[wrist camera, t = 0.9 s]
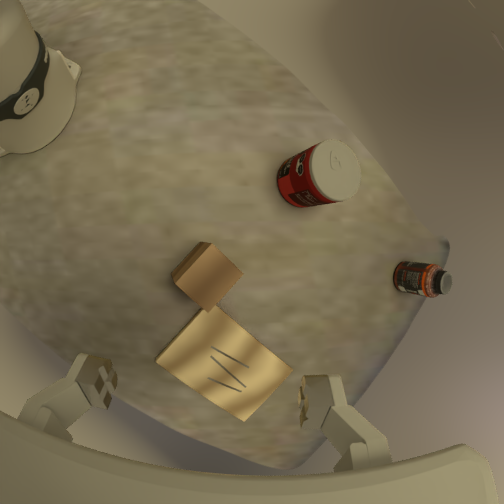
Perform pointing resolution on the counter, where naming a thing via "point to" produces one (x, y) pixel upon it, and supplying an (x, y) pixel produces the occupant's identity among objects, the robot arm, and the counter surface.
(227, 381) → the board
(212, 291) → the block
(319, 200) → the canned food
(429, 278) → the supplement bottle
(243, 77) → the counter surface
